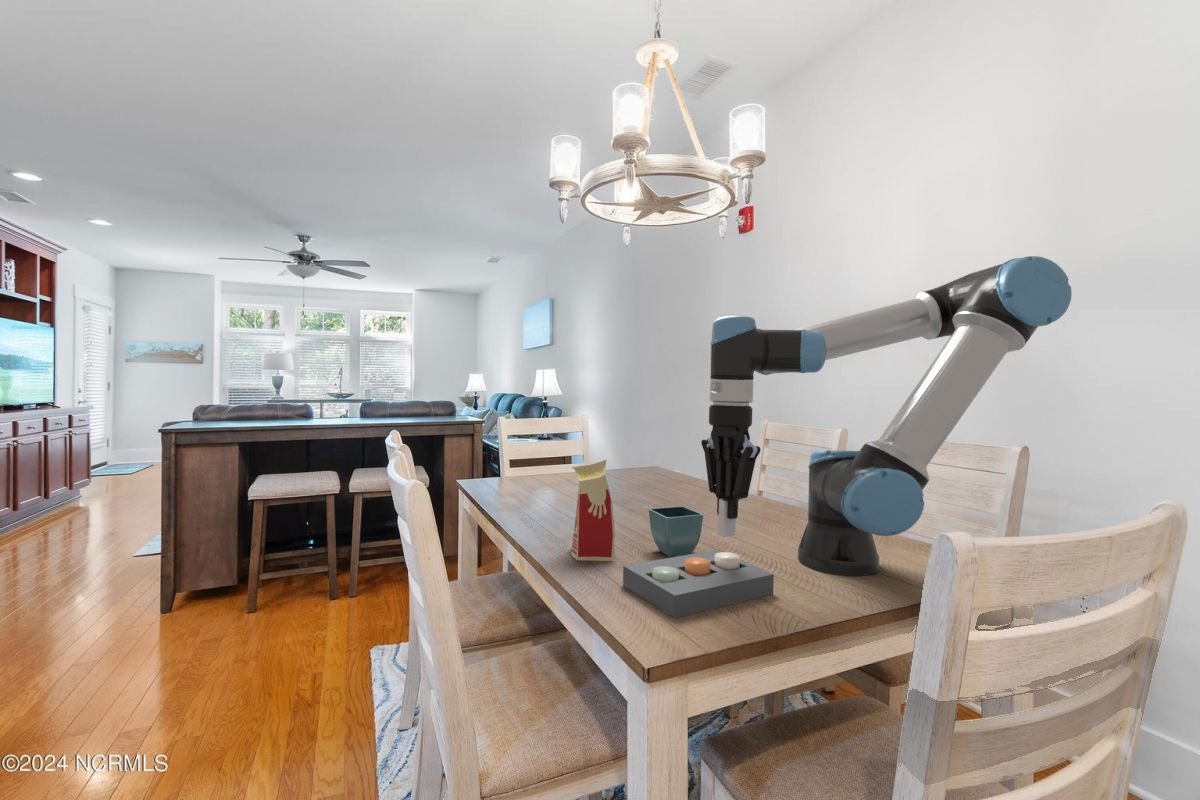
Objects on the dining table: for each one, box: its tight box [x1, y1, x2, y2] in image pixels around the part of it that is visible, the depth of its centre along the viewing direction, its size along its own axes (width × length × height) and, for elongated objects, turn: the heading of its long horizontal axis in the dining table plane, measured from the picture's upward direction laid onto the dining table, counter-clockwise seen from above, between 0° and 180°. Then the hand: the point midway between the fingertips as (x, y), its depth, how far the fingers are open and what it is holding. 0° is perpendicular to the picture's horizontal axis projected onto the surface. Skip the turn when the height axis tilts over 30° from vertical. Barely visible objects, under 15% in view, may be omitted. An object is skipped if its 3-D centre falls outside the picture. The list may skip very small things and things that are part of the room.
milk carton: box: [570, 458, 616, 562], centre depth 113 cm, size 9×9×20 cm
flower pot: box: [648, 505, 704, 558], centre depth 114 cm, size 9×9×9 cm
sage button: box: [652, 566, 679, 583], centre depth 91 cm, size 4×4×3 cm
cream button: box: [715, 551, 741, 571], centre depth 97 cm, size 4×4×3 cm
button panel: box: [622, 549, 775, 619], centre depth 94 cm, size 21×15×4 cm
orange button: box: [685, 557, 710, 577], centre depth 94 cm, size 4×4×3 cm
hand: (726, 535), depth 97 cm, fingers closed
